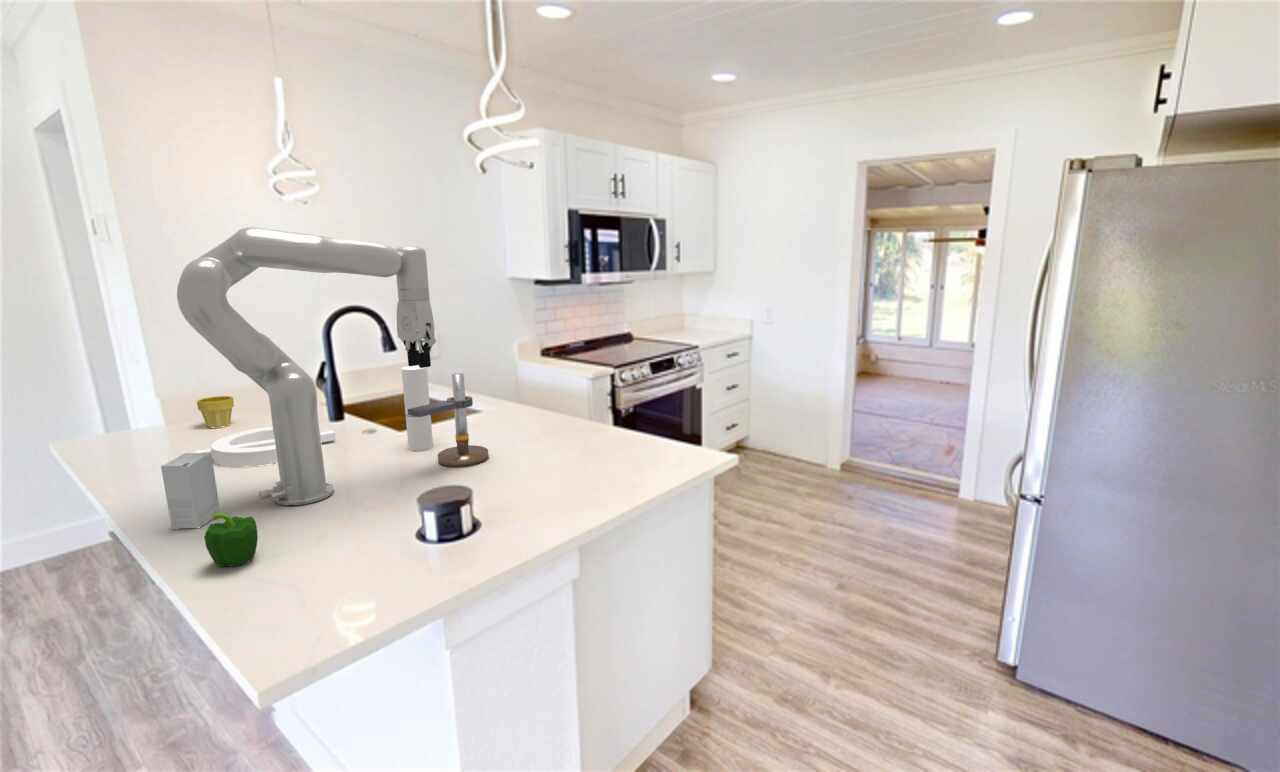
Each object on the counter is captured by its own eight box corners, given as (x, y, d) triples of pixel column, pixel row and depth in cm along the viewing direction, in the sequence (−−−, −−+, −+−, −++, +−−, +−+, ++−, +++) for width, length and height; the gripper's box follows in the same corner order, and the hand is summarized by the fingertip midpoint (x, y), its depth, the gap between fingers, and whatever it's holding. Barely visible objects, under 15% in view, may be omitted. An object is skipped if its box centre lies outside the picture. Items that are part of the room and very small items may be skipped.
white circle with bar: (188, 465, 170) (186, 449, 169) (265, 437, 197) (263, 423, 196) (275, 471, 165) (272, 454, 164) (341, 441, 192) (340, 427, 191)
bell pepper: (271, 551, 119) (265, 504, 117) (243, 572, 111) (235, 522, 109) (230, 550, 119) (223, 503, 117) (199, 571, 111) (190, 521, 109)
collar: (421, 418, 156) (421, 411, 155) (406, 415, 160) (405, 407, 159) (477, 404, 171) (476, 397, 170) (461, 401, 174) (461, 395, 174)
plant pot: (235, 420, 217) (231, 394, 215) (238, 426, 209) (234, 399, 207) (200, 425, 211) (195, 398, 209) (202, 431, 203) (197, 403, 201)
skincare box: (194, 514, 136) (184, 452, 133) (222, 513, 137) (212, 451, 134) (170, 531, 128) (158, 464, 125) (200, 529, 129) (188, 463, 126)
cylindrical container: (437, 444, 187) (430, 365, 182) (426, 451, 180) (420, 370, 175) (415, 443, 188) (408, 365, 183) (404, 450, 181) (396, 369, 176)
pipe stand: (459, 470, 164) (453, 381, 158) (427, 461, 171) (420, 375, 166) (498, 457, 175) (493, 373, 170) (467, 448, 183) (461, 368, 178)
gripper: (381, 296, 155) (388, 365, 159) (421, 298, 146) (427, 371, 150) (407, 294, 161) (412, 361, 165) (446, 296, 152) (451, 367, 156)
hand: (419, 365), depth 157 cm, fingers open, 3 cm apart
